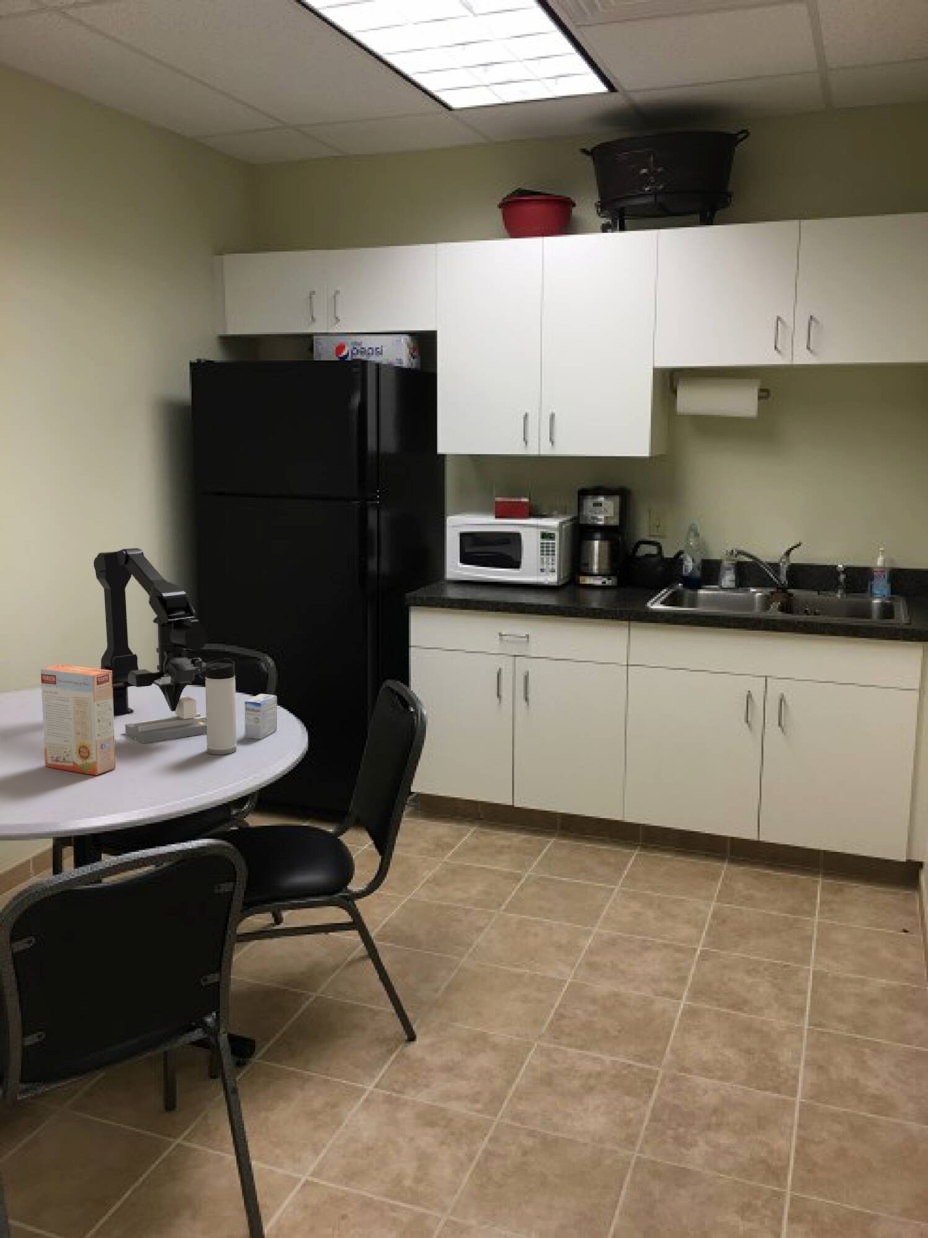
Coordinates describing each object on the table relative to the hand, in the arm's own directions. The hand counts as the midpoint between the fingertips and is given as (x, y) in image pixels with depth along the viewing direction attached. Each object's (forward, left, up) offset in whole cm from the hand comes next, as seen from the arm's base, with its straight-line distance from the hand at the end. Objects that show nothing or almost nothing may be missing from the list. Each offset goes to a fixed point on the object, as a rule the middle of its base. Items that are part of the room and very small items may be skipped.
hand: (173, 710), depth 247 cm
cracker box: (+15, -26, -5) cm, 31 cm away
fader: (0, +3, -3) cm, 4 cm away
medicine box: (+13, +16, -5) cm, 21 cm away
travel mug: (+20, +3, -5) cm, 21 cm away
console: (0, -1, -5) cm, 5 cm away
